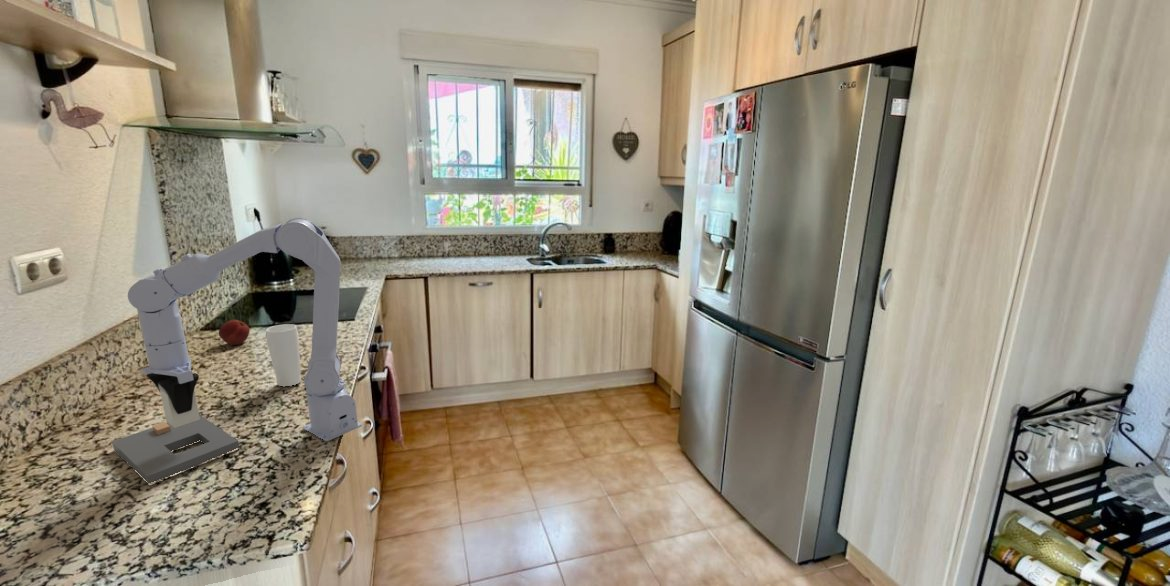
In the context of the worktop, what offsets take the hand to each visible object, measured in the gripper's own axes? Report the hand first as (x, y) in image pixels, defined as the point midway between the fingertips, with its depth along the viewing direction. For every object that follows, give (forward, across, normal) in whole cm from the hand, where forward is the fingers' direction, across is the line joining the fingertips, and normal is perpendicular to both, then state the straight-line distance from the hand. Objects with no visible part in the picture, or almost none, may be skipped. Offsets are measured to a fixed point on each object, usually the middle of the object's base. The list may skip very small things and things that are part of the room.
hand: (179, 408), depth 94 cm
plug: (+3, 0, 0) cm, 3 cm away
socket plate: (+9, -3, -1) cm, 10 cm away
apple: (+10, -61, +32) cm, 70 cm away
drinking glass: (+10, -17, +27) cm, 33 cm away
